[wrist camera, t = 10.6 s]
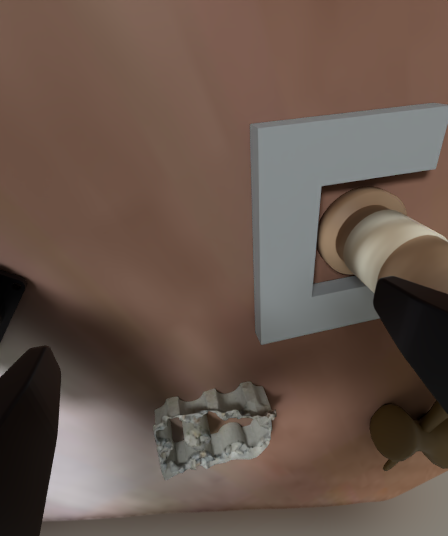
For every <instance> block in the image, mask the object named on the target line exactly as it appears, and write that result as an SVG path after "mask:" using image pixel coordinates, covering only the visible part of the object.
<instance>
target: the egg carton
mask: <svg viewBox="0 0 448 536" xmlns="http://www.w3.org/2000/svg"><path fill="white" fill-rule="evenodd" d="M154 411H155V425H153V430H154V436H155V441H156V445H157V452H158V457H159V462H160V467H161V471H162V474H163V477H164V480H168V479H170V478H171V477H173V476H175V475H177V474H179V473H183V472H184V471H185V470H187V469H194V470H196V469H197V466H203V467H204V468H206V469H208V468H210V467H211V466H213V465H215V464H219V463H226V462H228V461H230V460H234V459H252V458H256V457H257V456H258V455H260V454H261V453H262V451H263V450H264V449H265V448H266V447H267V446H268V444H269V441H270V439H271V437H270V433H271V430H272V424H271V419H272V420H274V417H276V410H274V411H272V410H271V407H270V404H269V402H268V399H267V396H266V394H265V391H264V388H263V387H262V386H255V385H253V384H252V382H243V383H240V385H239V387H238V388H237V389H236V390H235V391H233V392H231V393H228V394H221V393H218V392H217V391H216V389H211V390H208V391H205V392H203V394H202V396H201V397H200V398H199V399H197V400H195V401H192V402H184V401H182V400H180V399H179V397H172V398H168V399H166V402H165V404H164V405H163V406H162V407H160V408H158V409H156V410H154ZM208 411H211V412H214V413H216V414H217V415H218V416H219V417H220V418H221V419H222V420H224V421H225V420H227V419H228V418H237V419H240V418H246V417H247V418H252V419H253V421H252V422H251V424H250V425H248V426H244V427H241V425H240V424H239V423H236V422H231V423H227V424H225V425H223V426H222V427H221V428H220V429H219V431H218V433H215V434H210V430H209V425H208V421H207V416H206V414H207V413H208ZM175 417H179V419H180V421H181V420H182V426H183V433H184V441H181V442H177V443H174V441H173V440H172V431H171V423H170V420H169V419H173V418H175Z"/></svg>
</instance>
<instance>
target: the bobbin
mask: <svg viewBox="0 0 448 536" xmlns="http://www.w3.org/2000/svg"><path fill="white" fill-rule="evenodd" d="M316 246H317V250H318V252H319V254H320V256H321V257H322V258H323V259H324V260H325V261H326V262H327V263H328V264H329V265H330V266H331V267H332V268H333V269H334V270H336V271H337V272H340V273H343V274H349V275H355V276H356V277H358V278H359V279H360V280H361V281H362V282H363V283H364V284H365V285H366V286H367V287H368V288H369V289H370V290H371V291H372V292H373V293H375V288H376V283H377V281H378V279H380V278H382V277H387V276H396V277H399V278H402V279H405V280H408V281H411V282H414V283H417V284H420V285H423V286H426V287H429V288H432V289H435V290H438V291H441V292H444V293H447V294H448V241H447V239H446V238H445V237H444V236H442V235H440V234H439V233H437V232H435V231H433V230H431V229H430V228H428V227H426V226H424V225H422V224H420V223H419V222H417V221H415V220H413V219H411V218H410V217H408V216H407V213H406V209H405V207H404V205H403V203H402V202H401V200H400V199H399V198H397V197H396V196H395V195H393V194H391V193H389V192H387V191H385V190H383V189H380V188H378V187H373V186H364V187H359V188H355V189H352V190H350V191H348V192H346V193H345V194H343V195H341V196H340V197H339V198H337V199H336V200H335V201H334V202H333V203H332V204H331V205H330V206H329V207H328V208H327V210H326V211H325V213H324V214H323V216H322V218H321V220H320V222H319V224H318V231H317V243H316Z"/></svg>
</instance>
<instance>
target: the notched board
mask: <svg viewBox="0 0 448 536" xmlns="http://www.w3.org/2000/svg"><path fill="white" fill-rule="evenodd" d="M447 124H448V105H446V104H438V103H428V104H419V105H411V106H402V107H393V108H385V109H376V110H367V111H359V112H350V113H341V114H333V115H324V116H315V117H307V118H298V119H289V120H281V121H272V122H263V123H255V124H250V148H251V186H252V224H253V262H254V300H255V333H256V335H257V337H258V339H259V341H260V343H261V345H263V344H267V343H272V342H276V341H281V340H285V339H290V338H294V337H298V336H303V335H307V334H312V333H316V332H321V331H325V330H330V329H334V328H339V327H343V326H348V325H352V324H357V323H361V322H365V321H370V320H374V319H379V318H380V317H379V316H378V314H377V312H376V311H375V309H374V306H373V298H374V293H373V292H372V291H371V290H370V289H369V288H368V287H367V286H366V285H365V284H364V283H363V282H362V281H361V280H360V279H359V278H358V277H356V276H351V277H346V278H341V279H336V280H331V281H326V282H321V283H316V284H313V277H314V266H315V254H316V243H317V231H318V220H319V208H320V197H321V186H326V185H332V184H339V183H346V182H352V181H359V180H365V179H372V178H379V177H385V176H392V175H399V174H405V173H412V172H419V171H425V170H432V169H436V165H437V162H438V158H439V154H440V150H441V146H442V143H443V139H444V135H445V131H446V128H447Z"/></svg>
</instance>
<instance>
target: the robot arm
mask: <svg viewBox="0 0 448 536" xmlns="http://www.w3.org/2000/svg"><path fill="white" fill-rule="evenodd" d="M13 283H18V284H20V286H19V287H18V286H15V285H14V284H13ZM26 286H27V282H26V280H25V279H24V278H22V277H20V276H17V275H14V274H11V273H8V272H5V271H2V270H0V342H1V340H2V338H3V335H4V333H5V331H6V329H7V327H8V325H9V323H10V320H11V318H12V316H13V314H14V312H15V310H16V308H17V306H18V303H19V301H20V299H21V297H22V295H23V293H24V291H25V288H26ZM373 306H374V309H375V311H376V312H377V314H378V316H379V317H380V319H381V321H382V322H383V324H384V326H385V327H386V329H387V331H388V332H389V334H390V336H391V337H392V339H393V340H394V342H395V344H396V345H397V347H398V349H399V350H400V352H401V353H402V354H403V356H404V357H405V359H406V360H407V361H408V363H409V364H410V365H411V367H412V368H413V369H414V371H415V372H416V373H417V375H418V376H419V377H420V379H421V380H422V381H423V383H424V384H425V385H426V387H427V388H428V389H429V391H430V392H431V393H432V395H433V396H434V397H435V399H436V400H437V401H438V403H439V404H440V405H441V407H442V408H443V409H444V411H445V412H446V413H447V415H448V294H447V293H444V292H441V291H438V290H435V289H432V288H429V287H426V286H423V285H420V284H417V283H414V282H411V281H408V280H405V279H402V278H399V277H396V276H387V277H382V278H380V279H378V281H377V283H376V288H375V293H374V298H373ZM60 386H61V371H60V368H59V365H58V363H57V361H56V359H55V357H54V355H53V353H52V351H51V349H50V347H49V346H46V345H44V346H39V347H34V348H31V349H29V350H28V351H26V352H25V353H24V354H23V355H22V356H21V357H20V358H19V359H18V360H17V361H16V362H15V363H14V364H13V365H12V366H11V367H10V368H9V369H8V370H7V371H6V372H5V373H4V374H3V375H2V376H1V377H0V536H39V535H40V530H41V524H42V519H43V513H44V508H45V502H46V497H47V491H48V485H49V480H50V474H51V469H52V463H53V458H54V452H55V447H56V440H57V433H58V420H59V403H60Z"/></svg>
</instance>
